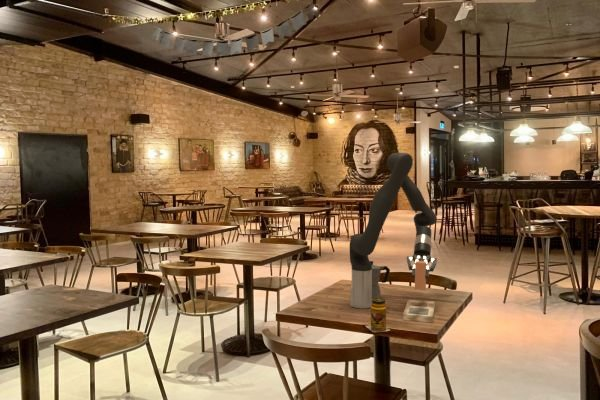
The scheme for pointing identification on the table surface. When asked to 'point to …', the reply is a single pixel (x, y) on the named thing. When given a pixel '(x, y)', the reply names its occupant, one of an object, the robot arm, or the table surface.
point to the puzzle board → (419, 311)
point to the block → (420, 275)
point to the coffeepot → (377, 279)
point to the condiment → (378, 316)
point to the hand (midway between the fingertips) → (420, 277)
